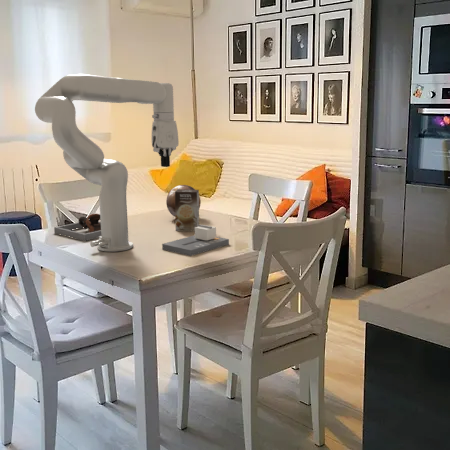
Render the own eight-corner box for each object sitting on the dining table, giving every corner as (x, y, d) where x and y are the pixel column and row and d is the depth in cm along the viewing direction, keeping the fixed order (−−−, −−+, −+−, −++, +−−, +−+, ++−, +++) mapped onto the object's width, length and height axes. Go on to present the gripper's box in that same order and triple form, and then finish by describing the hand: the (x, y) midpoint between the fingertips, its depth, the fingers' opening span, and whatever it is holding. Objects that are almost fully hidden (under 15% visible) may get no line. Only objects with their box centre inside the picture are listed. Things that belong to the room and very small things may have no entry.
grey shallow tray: (84, 241, 224) (84, 234, 223) (54, 233, 237) (54, 227, 236) (122, 232, 237) (121, 226, 237) (91, 225, 250) (91, 219, 250)
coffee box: (175, 231, 238) (173, 191, 235) (177, 227, 245) (176, 189, 241) (197, 231, 237) (196, 191, 234) (199, 227, 244) (199, 189, 240)
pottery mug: (109, 229, 245) (110, 214, 240) (101, 244, 238) (103, 229, 232) (81, 222, 245) (82, 207, 240) (73, 236, 238) (73, 221, 233)
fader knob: (206, 240, 213) (206, 228, 212) (194, 238, 217) (194, 225, 216) (216, 237, 217) (216, 225, 216) (204, 235, 221) (203, 223, 220)
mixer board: (190, 256, 202) (190, 250, 201) (162, 249, 211) (162, 243, 210) (228, 244, 217) (228, 238, 216) (200, 238, 226) (200, 233, 225)
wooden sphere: (159, 219, 260) (158, 185, 257) (182, 214, 272) (181, 181, 269) (185, 223, 251) (184, 188, 248) (207, 217, 263) (207, 184, 260)
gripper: (155, 118, 212) (157, 169, 216) (185, 116, 223) (186, 165, 227) (141, 117, 217) (143, 167, 221) (171, 116, 228) (172, 163, 232)
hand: (165, 166), depth 224 cm, fingers closed
